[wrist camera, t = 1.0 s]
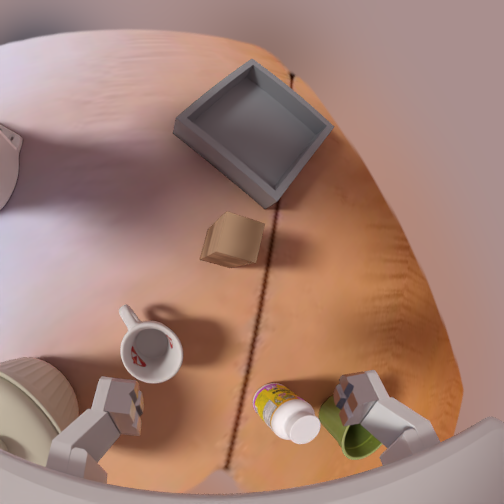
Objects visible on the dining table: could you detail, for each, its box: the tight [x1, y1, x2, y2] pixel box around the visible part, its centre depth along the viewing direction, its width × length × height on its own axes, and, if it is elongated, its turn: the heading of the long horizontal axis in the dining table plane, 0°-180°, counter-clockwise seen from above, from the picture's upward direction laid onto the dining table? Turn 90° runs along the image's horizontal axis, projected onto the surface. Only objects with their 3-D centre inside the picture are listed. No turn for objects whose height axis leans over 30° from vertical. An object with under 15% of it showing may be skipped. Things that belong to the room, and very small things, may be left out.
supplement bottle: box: [253, 383, 320, 444], centre depth 39 cm, size 7×7×13 cm
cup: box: [119, 305, 183, 383], centre depth 36 cm, size 11×8×8 cm
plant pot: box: [319, 395, 382, 460], centre depth 43 cm, size 12×12×11 cm
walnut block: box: [200, 211, 265, 268], centre depth 39 cm, size 5×5×12 cm
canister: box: [0, 357, 79, 467], centre depth 23 cm, size 18×18×21 cm
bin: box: [173, 59, 334, 209], centre depth 46 cm, size 20×20×5 cm
